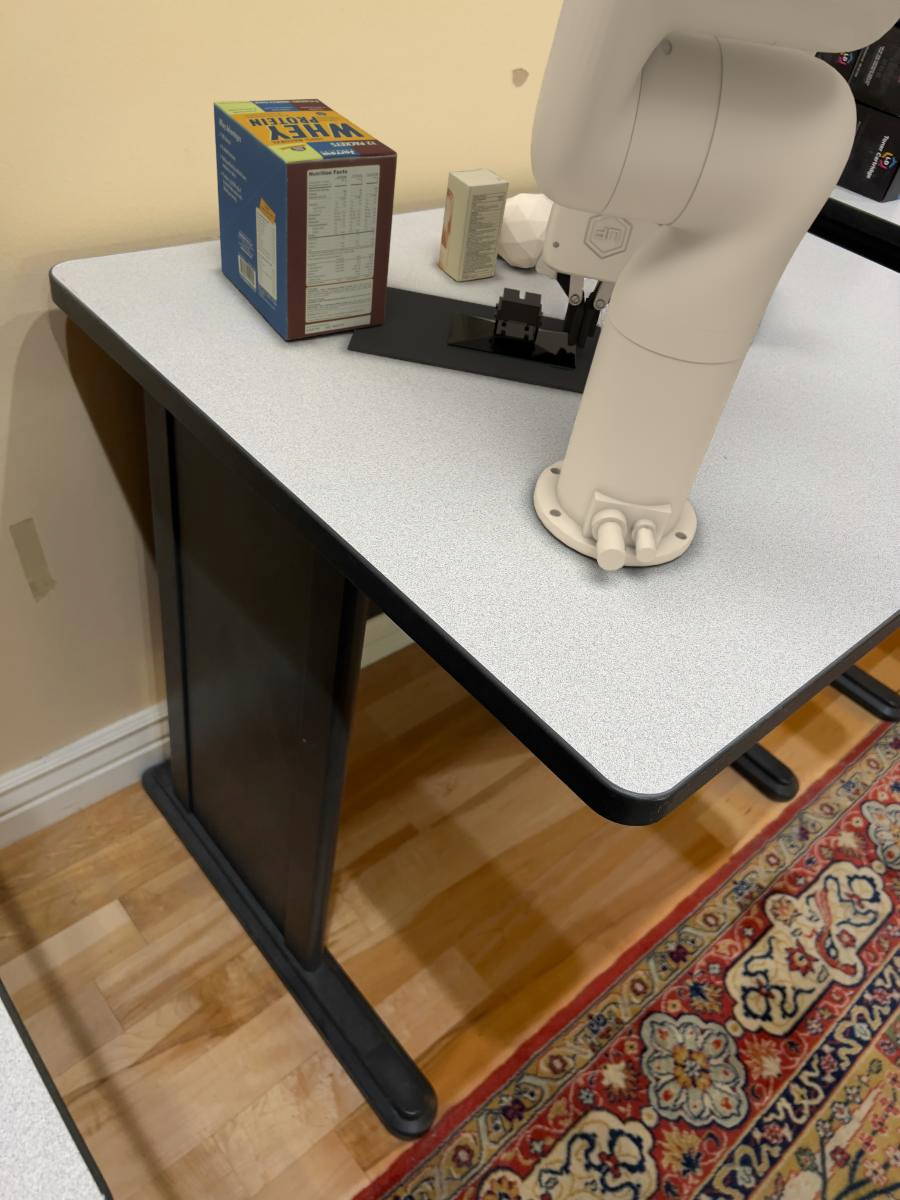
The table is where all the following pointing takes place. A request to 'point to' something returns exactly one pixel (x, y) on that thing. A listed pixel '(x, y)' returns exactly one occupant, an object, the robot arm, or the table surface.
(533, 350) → the build plate
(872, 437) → the table surface
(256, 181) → the protein box
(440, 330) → the desk mat
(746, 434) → the table surface
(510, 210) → the geometric ball
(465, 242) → the printed cream carton
